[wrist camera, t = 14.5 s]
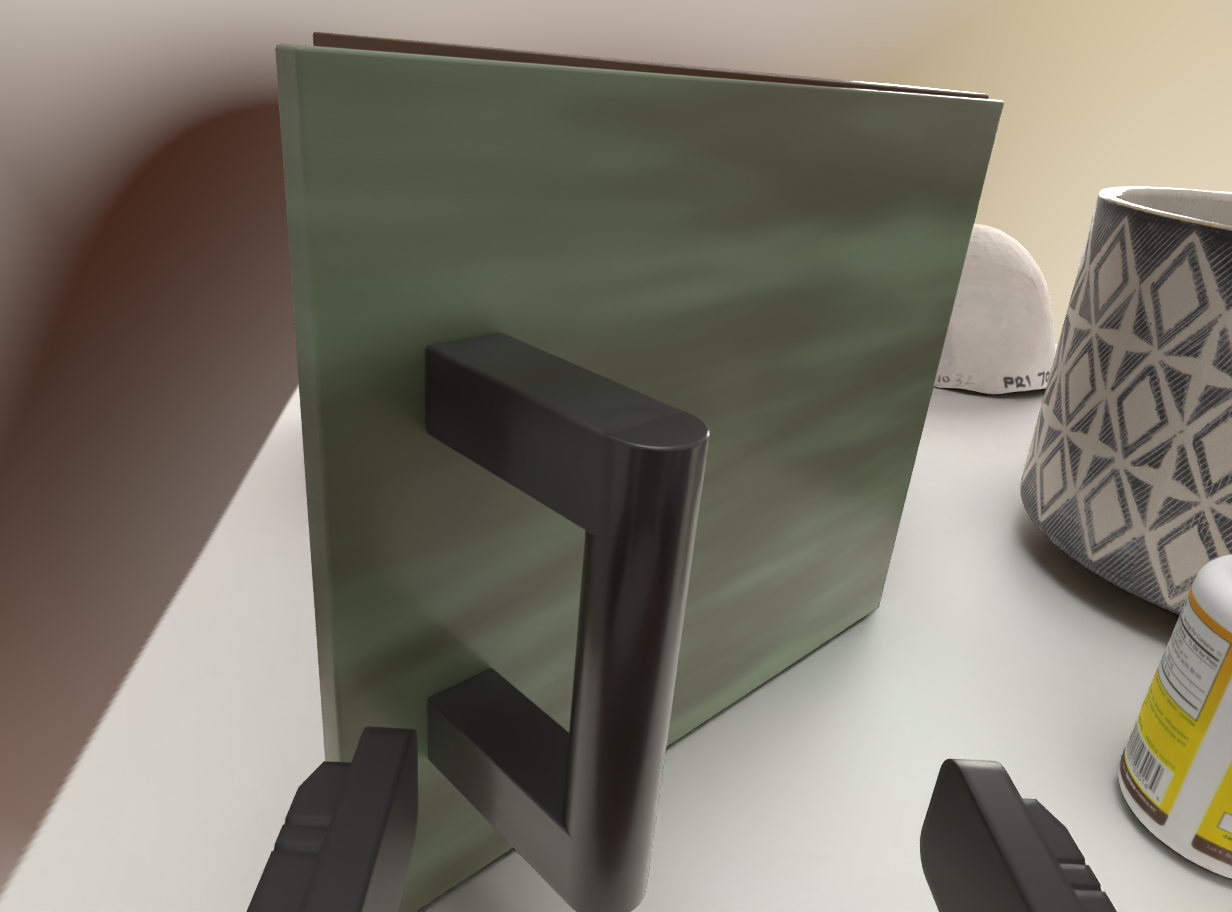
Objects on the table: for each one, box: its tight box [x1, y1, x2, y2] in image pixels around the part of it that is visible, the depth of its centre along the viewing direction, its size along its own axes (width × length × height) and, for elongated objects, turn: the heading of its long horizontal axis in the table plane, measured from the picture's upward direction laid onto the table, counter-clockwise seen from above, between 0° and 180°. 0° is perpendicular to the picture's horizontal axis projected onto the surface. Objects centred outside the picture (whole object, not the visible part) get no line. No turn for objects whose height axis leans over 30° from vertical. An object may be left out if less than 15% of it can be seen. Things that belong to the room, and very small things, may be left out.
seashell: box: [934, 224, 1055, 394], centre depth 69 cm, size 15×14×15 cm
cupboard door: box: [275, 43, 1004, 912], centre depth 23 cm, size 7×24×20 cm, turn 134°
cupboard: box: [313, 32, 989, 99], centre depth 42 cm, size 16×24×20 cm, turn 81°
